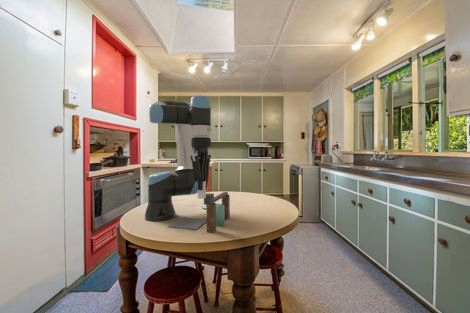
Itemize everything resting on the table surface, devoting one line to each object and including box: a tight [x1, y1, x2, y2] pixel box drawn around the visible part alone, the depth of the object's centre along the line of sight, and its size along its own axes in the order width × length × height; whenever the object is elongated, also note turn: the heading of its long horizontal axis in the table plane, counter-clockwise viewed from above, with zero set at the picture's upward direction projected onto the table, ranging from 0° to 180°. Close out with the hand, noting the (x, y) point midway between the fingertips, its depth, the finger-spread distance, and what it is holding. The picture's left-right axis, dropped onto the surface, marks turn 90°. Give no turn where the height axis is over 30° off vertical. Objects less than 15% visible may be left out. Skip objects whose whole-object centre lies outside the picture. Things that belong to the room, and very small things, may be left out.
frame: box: [206, 194, 231, 234], centre depth 104 cm, size 3×21×12 cm, turn 162°
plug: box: [216, 203, 226, 227], centre depth 104 cm, size 5×5×9 cm
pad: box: [167, 216, 207, 231], centre depth 105 cm, size 14×14×1 cm
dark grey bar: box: [203, 191, 229, 206], centre depth 102 cm, size 3×22×4 cm, turn 162°
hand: (201, 198), depth 86 cm, fingers closed
